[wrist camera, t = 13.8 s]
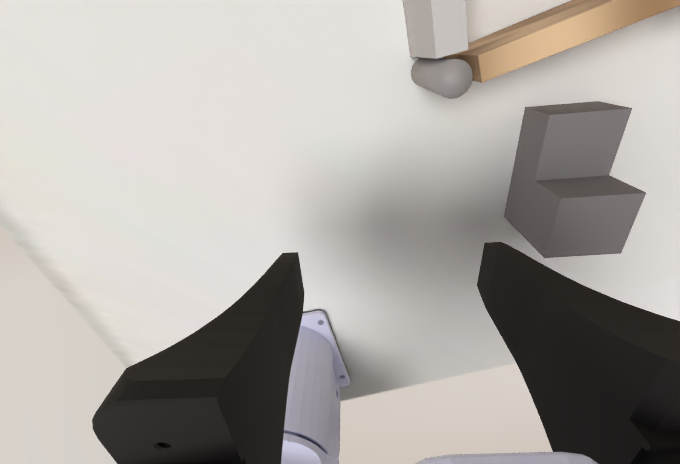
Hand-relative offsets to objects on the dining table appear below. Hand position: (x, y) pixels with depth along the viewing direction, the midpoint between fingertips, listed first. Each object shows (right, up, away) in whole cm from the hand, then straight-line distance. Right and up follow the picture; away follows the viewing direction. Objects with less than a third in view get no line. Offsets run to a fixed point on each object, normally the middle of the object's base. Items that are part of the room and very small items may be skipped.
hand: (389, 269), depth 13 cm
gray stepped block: (+11, +6, +7) cm, 14 cm away
